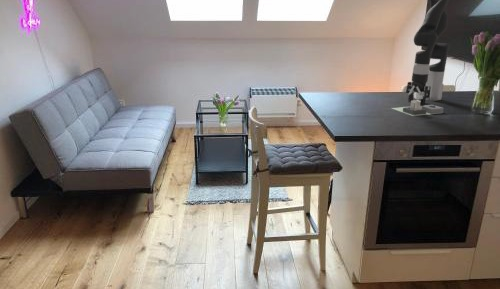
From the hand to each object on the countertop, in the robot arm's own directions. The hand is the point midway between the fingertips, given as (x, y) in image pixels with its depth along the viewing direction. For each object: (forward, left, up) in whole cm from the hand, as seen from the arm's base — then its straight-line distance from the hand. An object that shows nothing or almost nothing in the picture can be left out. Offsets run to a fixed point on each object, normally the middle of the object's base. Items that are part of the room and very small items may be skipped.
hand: (416, 103), depth 211 cm
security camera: (-18, -17, -6) cm, 25 cm away
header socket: (+1, 0, -5) cm, 5 cm away
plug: (0, 0, -5) cm, 5 cm away
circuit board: (-4, -3, -6) cm, 7 cm away
